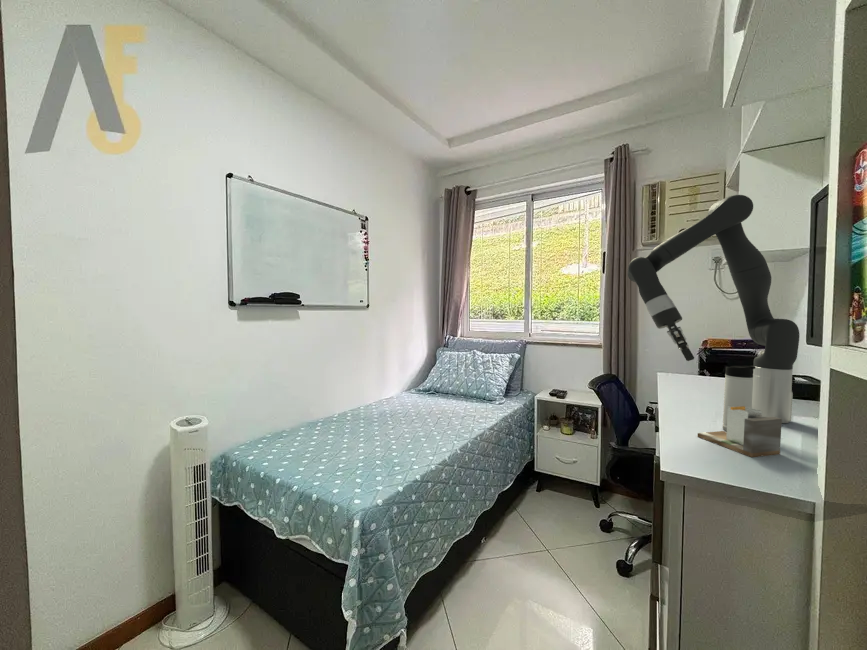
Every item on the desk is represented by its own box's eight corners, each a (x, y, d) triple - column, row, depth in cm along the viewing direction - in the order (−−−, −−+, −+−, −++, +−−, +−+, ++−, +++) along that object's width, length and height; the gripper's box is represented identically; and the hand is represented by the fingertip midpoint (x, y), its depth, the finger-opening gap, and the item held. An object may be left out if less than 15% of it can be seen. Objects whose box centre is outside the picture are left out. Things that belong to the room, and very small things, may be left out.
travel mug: (745, 437, 99) (749, 367, 98) (718, 429, 105) (721, 363, 104) (756, 433, 102) (759, 365, 101) (728, 426, 108) (731, 362, 107)
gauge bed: (697, 436, 99) (698, 405, 99) (722, 434, 101) (724, 403, 101) (751, 457, 86) (753, 421, 85) (779, 454, 88) (781, 418, 87)
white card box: (720, 440, 93) (721, 404, 93) (739, 438, 95) (741, 403, 94) (740, 447, 88) (742, 410, 88) (760, 445, 90) (761, 408, 89)
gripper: (675, 302, 109) (705, 354, 103) (676, 309, 119) (703, 356, 113) (649, 313, 112) (677, 363, 106) (652, 319, 123) (678, 365, 117)
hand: (690, 360), depth 110 cm, fingers closed
